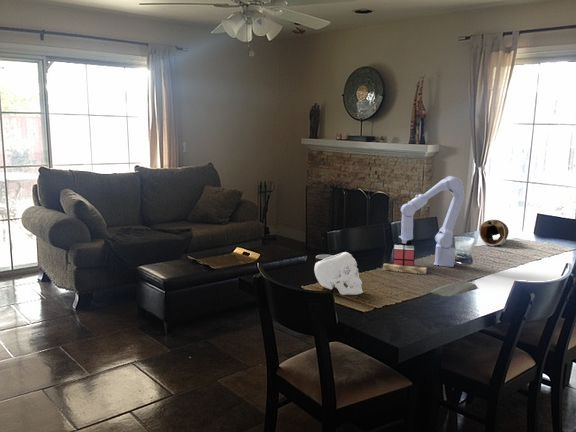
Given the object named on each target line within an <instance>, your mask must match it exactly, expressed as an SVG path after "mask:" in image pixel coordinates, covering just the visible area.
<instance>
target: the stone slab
mask: <svg viewBox="0 0 576 432" xmlns="http://www.w3.org/2000/svg"><path fill="white" fill-rule="evenodd" d="M475 289H478V285H476V283H472V282H469V281H465V280H461V281H457V282H453V283H449V284H444V285H442V286H439V287H436V288H434V289H432V290H431V291H429V294H433V295H436V296H441V297H450V296H451V297H452V296H455V295H459V294H465V293H467V292H469V291H472V290H475Z"/></svg>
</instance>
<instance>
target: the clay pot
mask: <svg viewBox="0 0 576 432" xmlns="http://www.w3.org/2000/svg"><path fill="white" fill-rule="evenodd" d="M478 230H479V232H478V233H479V236H480V239H481V240H482V242H483V243H484V244H485V245H488V246H493V247H494V246H495V247H496V246H499V247H500V246H503V245H504V244H505V243H506V242H507V240H508V239H507V238H508V236H509V233H510V232H509V228H508V225H506V223H504V222H503V221H501V220H499V219H489V220H486V221H483V223H481V225H480V226H479V229H478ZM497 235H499V237H498V239H497V240H494V237H493V236H497Z"/></svg>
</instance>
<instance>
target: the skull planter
mask: <svg viewBox="0 0 576 432" xmlns="http://www.w3.org/2000/svg"><path fill="white" fill-rule="evenodd" d="M357 263H358V262H357V261H356V259H355V258H354V257H353V254H351V253H349V252H347V251H344V252H340V253H337V254H335V255H333V256H331V257H328V258H326V259H323V260H321V261H319V262H317V263H316V262H315V264H314V268H313V270H314V275H315V278H316V280H317V282H318V283H319V285H321V286H322V287H324V288H326V289H328V290H333V289H334V288H335V289H337V290H338V291H337V292H339V294H340V295H342V296H345V295H350V296H351V295H352V296H354V295H355V296H356V295H357V296H358V295H360V294H363V293H364V291H363V288H362V284H363V281H362V280H361V278H360V276H359V275H360V274H359V268H358V267H357V266H358V264H357ZM344 284H346V286H345V285H344Z"/></svg>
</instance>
